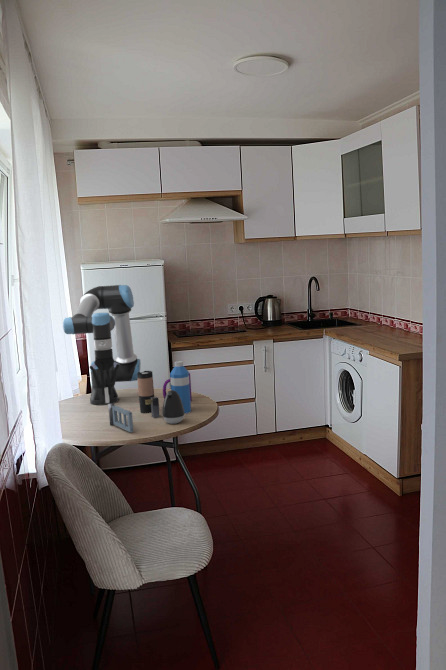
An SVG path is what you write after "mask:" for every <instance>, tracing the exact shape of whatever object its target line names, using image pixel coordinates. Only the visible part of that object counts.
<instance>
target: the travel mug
mask: <svg viewBox="0 0 446 670" xmlns="http://www.w3.org/2000/svg"><path fill="white" fill-rule="evenodd" d="M153 376H154V375H153V371H152V370H143V371H140V372H138V373H137V377H138V380H137V390H138V391H137V393H138V401H139V410H140V411H139V412H140V413H141V414H151V404H147V405H146V401H145V400H150V397H155V389H154V388H155V387H154V377H153Z"/></svg>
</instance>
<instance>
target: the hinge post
mask: <svg viewBox="0 0 446 670" xmlns="http://www.w3.org/2000/svg"><path fill="white" fill-rule="evenodd" d="M107 405H108V418H109V425H110V426H115V425H114V423H113V411H112V406H115V403H109V404H107Z"/></svg>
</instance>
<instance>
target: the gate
mask: <svg viewBox="0 0 446 670" xmlns="http://www.w3.org/2000/svg"><path fill="white" fill-rule="evenodd" d="M114 405H115V404H114ZM112 411H113V423H114V425H113V426H116V427H118V428H120V429H123V430H125V431H127V432H128V433H134V420H133V412H132V411H130V410H127V409H125V408H123V407H120V406H118V405H115V406H112ZM122 415H123V416H122ZM122 417H123V420H122Z"/></svg>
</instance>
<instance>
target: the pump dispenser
mask: <svg viewBox="0 0 446 670" xmlns="http://www.w3.org/2000/svg"><path fill="white" fill-rule="evenodd" d="M162 417H163V419H164V421H165V422H166V423H167V424H169V425H170V424H171V425H176V424H179V423H181V422H182V421H183V419H184V417H185V412H184V407H183V403H182V401H181V398H180V396H179V394H178V393H177V392H176V391H174V390H171V389H170V390H169V391H168V392H166V396H165V399H164V400H163V405H162Z"/></svg>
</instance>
